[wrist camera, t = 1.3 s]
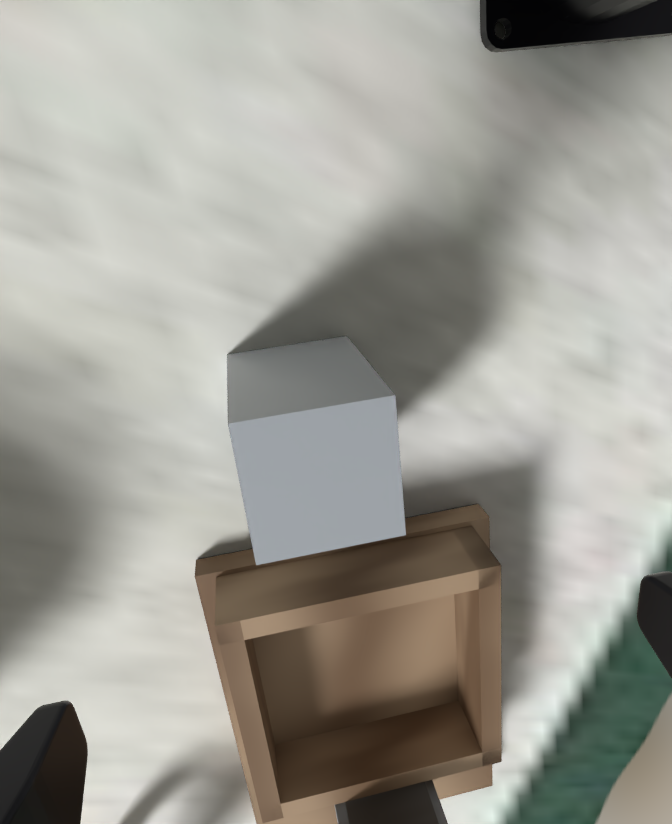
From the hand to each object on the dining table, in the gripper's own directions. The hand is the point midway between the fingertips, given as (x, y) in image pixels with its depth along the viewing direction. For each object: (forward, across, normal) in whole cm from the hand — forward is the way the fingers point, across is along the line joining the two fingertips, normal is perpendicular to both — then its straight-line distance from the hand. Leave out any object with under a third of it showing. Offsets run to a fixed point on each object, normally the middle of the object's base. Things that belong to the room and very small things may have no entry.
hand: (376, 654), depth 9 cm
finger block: (+12, 0, 0) cm, 12 cm away
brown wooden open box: (+12, -1, +13) cm, 18 cm away
